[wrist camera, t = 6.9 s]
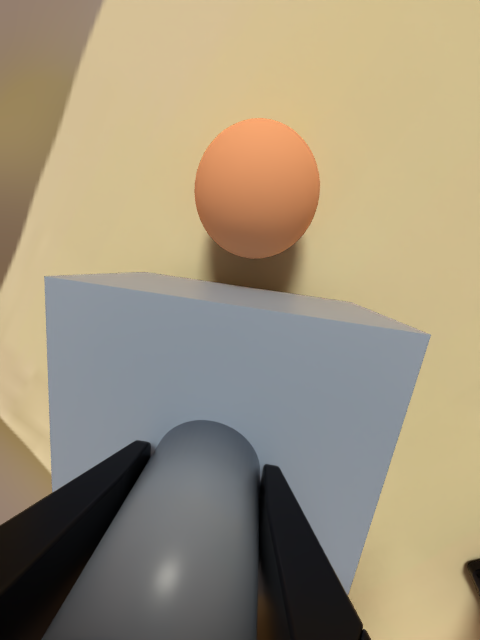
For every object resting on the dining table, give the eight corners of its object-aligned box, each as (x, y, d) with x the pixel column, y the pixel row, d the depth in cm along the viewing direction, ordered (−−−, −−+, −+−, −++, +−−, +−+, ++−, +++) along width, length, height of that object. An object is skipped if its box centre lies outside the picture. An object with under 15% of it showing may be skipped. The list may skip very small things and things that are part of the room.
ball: (355, 228, 8) (342, 162, 11) (230, 102, 6) (255, 63, 9) (256, 298, 12) (266, 235, 15) (156, 234, 10) (192, 175, 12)
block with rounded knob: (351, 302, 12) (807, 489, 2) (309, 480, 14) (415, 994, 4) (144, 271, 12) (-325, 291, 2) (135, 446, 14) (-133, 818, 5)
